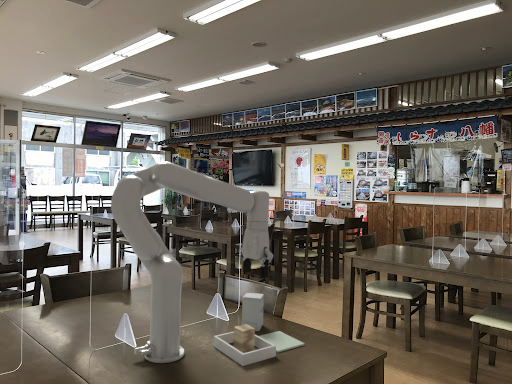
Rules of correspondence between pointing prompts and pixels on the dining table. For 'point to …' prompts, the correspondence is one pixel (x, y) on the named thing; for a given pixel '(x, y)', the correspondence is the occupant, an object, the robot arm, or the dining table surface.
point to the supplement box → (253, 310)
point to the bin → (243, 359)
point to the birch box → (244, 338)
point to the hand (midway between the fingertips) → (255, 274)
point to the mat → (282, 341)
